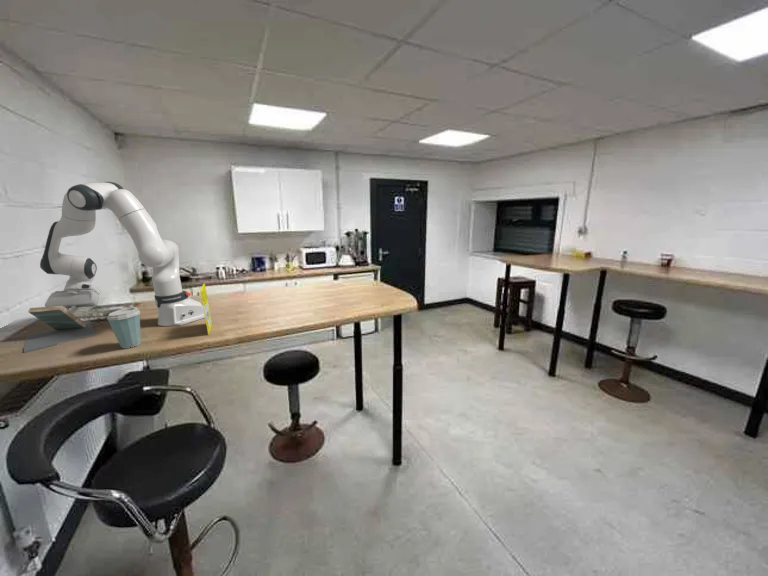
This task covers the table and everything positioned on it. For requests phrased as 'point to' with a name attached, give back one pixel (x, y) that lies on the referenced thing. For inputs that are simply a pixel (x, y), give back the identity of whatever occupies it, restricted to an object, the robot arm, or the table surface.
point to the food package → (206, 307)
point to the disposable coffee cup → (126, 326)
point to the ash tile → (57, 317)
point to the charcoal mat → (56, 337)
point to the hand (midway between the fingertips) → (67, 315)
